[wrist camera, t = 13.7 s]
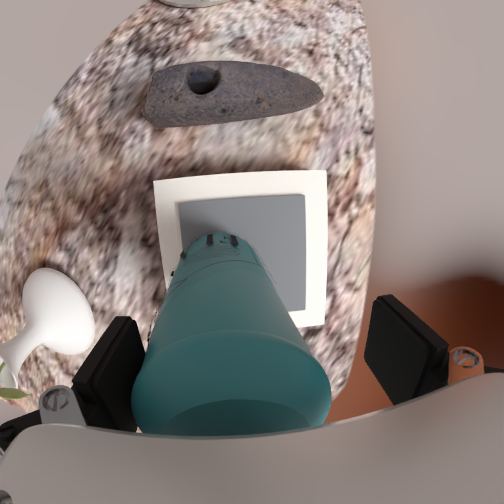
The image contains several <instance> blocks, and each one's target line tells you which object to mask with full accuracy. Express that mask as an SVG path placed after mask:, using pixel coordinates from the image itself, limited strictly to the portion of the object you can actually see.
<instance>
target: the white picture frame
mask: <svg viewBox="0 0 504 504" xmlns="http://www.w3.org/2000/svg"><path fill="white" fill-rule="evenodd" d="M153 183H154V196H155V207H156V217H157V226H158V234H159V242H160V250H161V257H162V264H163V271H164V277H165V283H166V289H167V288H169V286H168V284H169V285H170V283H171V280H172V278H173V277H172V276H170V275H171V273H172V271H175V270H176V268H177V265H178V263H179V260H180V253H181V252H182V251H183V250H185V249H186V248H187V247H188V245H190V244H191V241H192V242H193V241H194V240H196V239H197V238H199V236H200V237H201V236H203V233H204V235H205V234H206V232H207V233H208V234H209V233H212V232H224V233H228V231H229V233H230V234H233V235H234V234H235V235H236V236H237V234H238V237H240V238H242V239H243V240H244V241H247V243H248V244H249V245H250V244H252V245H253V246H252V245H250V246H251V247H252V248H254V249H255V250H256V251H255V250H254V251H255V252H256V254H257V256H258V258H259V260H260V261H261V263H262V265H263V267H264V269H265V270H267V269H268V270H267V271H269V272H267V271H266V272H267V274H268V276H269V278H270V279H271V281H272V283H273V285H274V288H275V290H276V292H277V294H278V296H279V297H280V299H281V301H282V303H283V304H284V306H285V308H286V310H287V311H288V313H289V315H290V317H291V318H292V320H293V322H294V324H295V325H296V327H297V328H299V327H307V326H315V325H322V324H324V318H325V301H326V279H327V178H326V170H296V171H263V172H243V173H228V174H215V175H203V176H193V177H183V178H174V179H165V180H157V181H153ZM210 231H211V232H210ZM232 232H233V233H232ZM195 237H196V238H195ZM192 239H193V240H192ZM245 239H246V240H245ZM185 246H186V247H185ZM258 253H259V254H258ZM259 255H260V256H259ZM261 258H262V260H263V262H262V260H261ZM264 264H265V265H264ZM266 267H267V268H266ZM174 273H175V272H174ZM270 274H271V275H270ZM271 276H272V277H271ZM170 277H171V278H170ZM274 280H275V281H274ZM169 281H170V282H169ZM275 283H276V284H275Z"/></svg>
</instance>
